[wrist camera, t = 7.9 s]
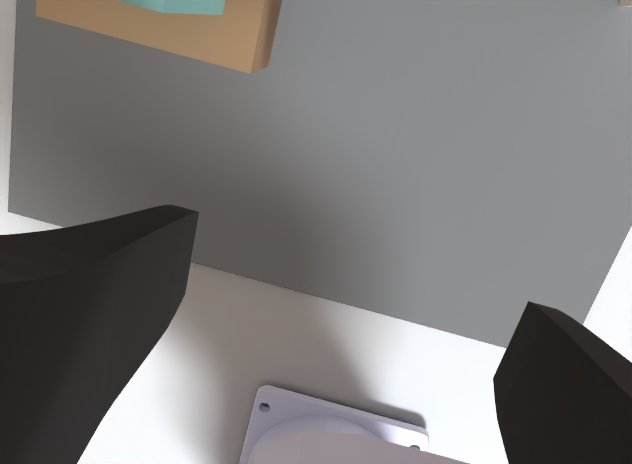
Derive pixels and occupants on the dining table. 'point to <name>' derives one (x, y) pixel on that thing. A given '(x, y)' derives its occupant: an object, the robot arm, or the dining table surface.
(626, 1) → the cream block
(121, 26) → the walnut base
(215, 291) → the dining table surface
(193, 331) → the dining table surface
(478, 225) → the mat
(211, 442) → the dining table surface
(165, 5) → the teal block
